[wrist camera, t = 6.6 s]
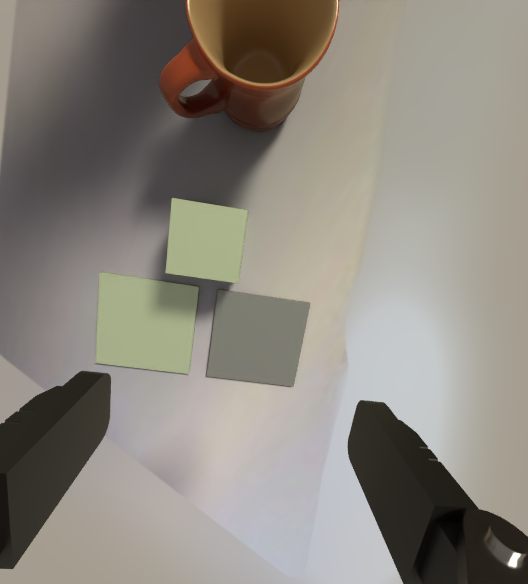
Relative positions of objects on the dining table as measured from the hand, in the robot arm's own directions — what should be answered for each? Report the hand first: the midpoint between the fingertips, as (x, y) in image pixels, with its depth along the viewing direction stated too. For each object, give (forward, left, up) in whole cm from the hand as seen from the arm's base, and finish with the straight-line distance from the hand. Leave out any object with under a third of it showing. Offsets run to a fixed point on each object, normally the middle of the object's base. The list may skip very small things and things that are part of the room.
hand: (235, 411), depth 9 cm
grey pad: (+6, +2, -21) cm, 22 cm away
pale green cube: (-4, -4, -21) cm, 22 cm away
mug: (-17, -3, -21) cm, 28 cm away
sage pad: (+6, -10, -21) cm, 24 cm away
